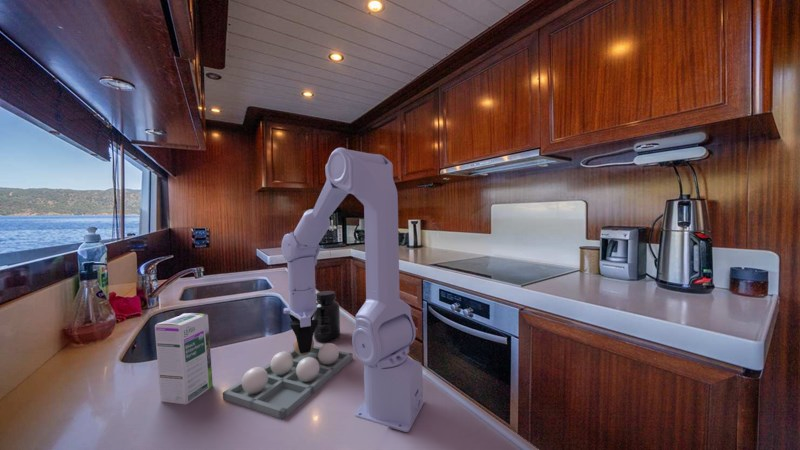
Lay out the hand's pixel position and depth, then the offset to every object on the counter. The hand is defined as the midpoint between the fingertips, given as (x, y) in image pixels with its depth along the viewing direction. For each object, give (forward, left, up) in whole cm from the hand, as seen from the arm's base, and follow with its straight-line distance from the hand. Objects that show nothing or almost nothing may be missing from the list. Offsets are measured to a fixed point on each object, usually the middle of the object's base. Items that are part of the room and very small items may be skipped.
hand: (304, 347), depth 67 cm
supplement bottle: (+3, -12, -3) cm, 13 cm away
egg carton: (-3, +7, -3) cm, 8 cm away
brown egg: (0, 0, -2) cm, 2 cm away
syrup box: (+12, +18, -3) cm, 22 cm away
